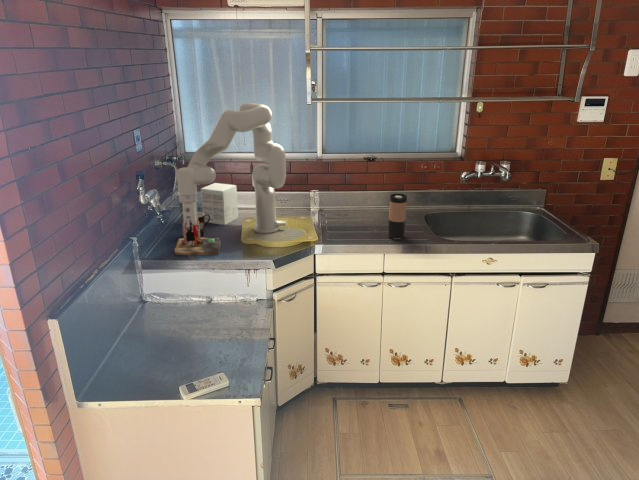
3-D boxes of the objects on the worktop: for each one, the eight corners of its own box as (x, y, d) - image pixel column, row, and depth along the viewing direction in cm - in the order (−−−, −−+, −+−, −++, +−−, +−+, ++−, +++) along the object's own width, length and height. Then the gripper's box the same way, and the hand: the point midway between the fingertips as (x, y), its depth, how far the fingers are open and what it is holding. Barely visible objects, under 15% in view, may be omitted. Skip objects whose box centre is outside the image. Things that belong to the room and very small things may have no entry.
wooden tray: (220, 243, 221) (220, 232, 219) (218, 254, 209) (217, 242, 207) (179, 244, 219) (178, 233, 217) (175, 255, 207) (173, 244, 205)
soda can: (197, 247, 209) (194, 220, 205) (181, 246, 210) (178, 219, 206) (203, 241, 216) (201, 215, 211) (188, 240, 217) (186, 214, 213)
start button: (215, 246, 212) (215, 238, 211) (215, 249, 209) (214, 240, 208) (208, 247, 212) (207, 238, 211) (207, 249, 209) (206, 241, 208)
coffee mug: (189, 239, 226) (187, 218, 222) (186, 233, 233) (184, 213, 230) (214, 236, 230) (213, 215, 226) (210, 230, 237) (209, 210, 234)
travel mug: (394, 233, 235) (397, 192, 228) (407, 237, 230) (410, 195, 223) (384, 237, 230) (386, 195, 223) (397, 241, 225) (400, 198, 218)
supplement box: (216, 214, 261) (214, 182, 255) (238, 217, 256) (237, 184, 250) (202, 222, 249) (199, 188, 243) (225, 225, 245) (223, 191, 239)
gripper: (195, 203, 198) (198, 244, 204) (199, 191, 214) (203, 230, 220) (175, 203, 197) (180, 245, 203) (182, 192, 213) (186, 231, 220)
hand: (192, 237), depth 212 cm, fingers closed on soda can, 7 cm apart
